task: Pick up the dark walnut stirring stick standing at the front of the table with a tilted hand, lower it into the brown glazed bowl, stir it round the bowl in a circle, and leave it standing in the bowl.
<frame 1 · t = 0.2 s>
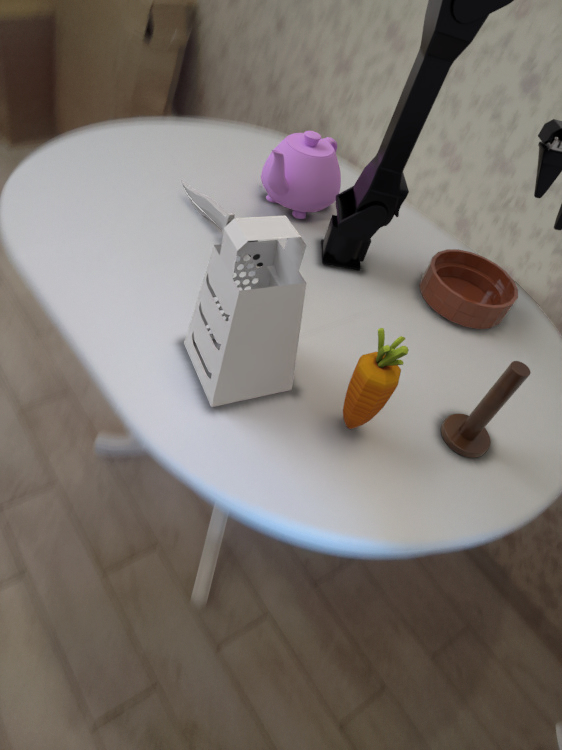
hand: (546, 212, 78), 15 cm above the table, tool pointing down, fingers open, 9 cm apart
bowl: (459, 301, 84), on the table
knife: (219, 234, 82), on the table
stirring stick: (463, 437, 64), on the table
carrot: (348, 428, 61), on the table
teapot: (292, 204, 93), on the table
grater: (237, 367, 64), on the table
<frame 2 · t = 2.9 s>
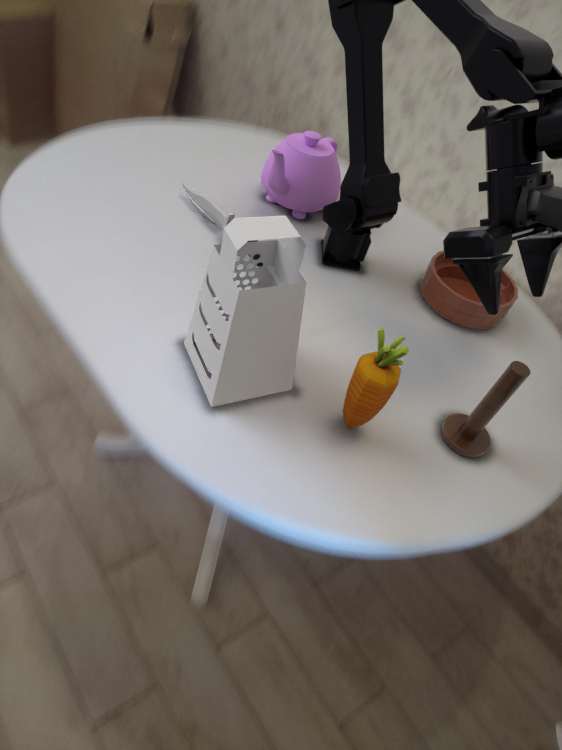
hand: (516, 305, 62), 13 cm above the table, tool tilted 35°, fingers open, 9 cm apart
nothing on the table moved.
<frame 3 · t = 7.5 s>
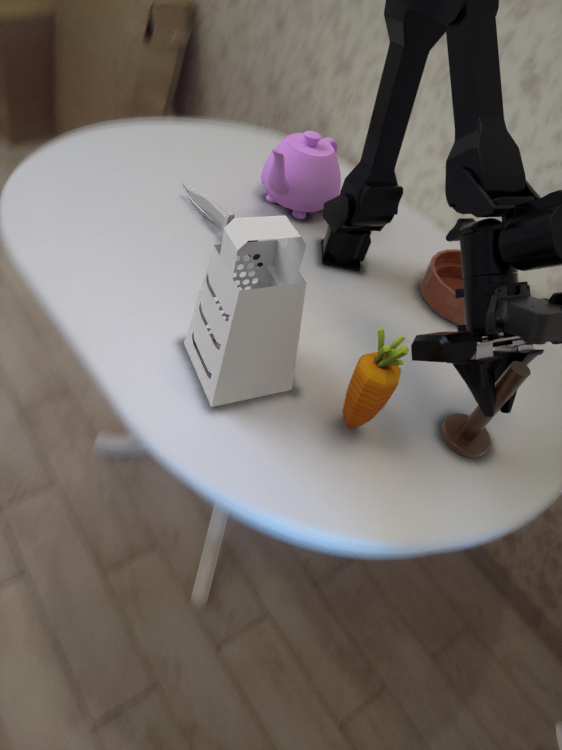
hand: (497, 414, 58), 7 cm above the table, tool tilted 45°, fingers closed on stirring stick, 2 cm apart
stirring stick: (463, 437, 64), on the table, touching gripper
everything else where it was.
when the fingers open (7 cm above the table, at t = 19.1 s): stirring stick stays where it is, resting on bowl.
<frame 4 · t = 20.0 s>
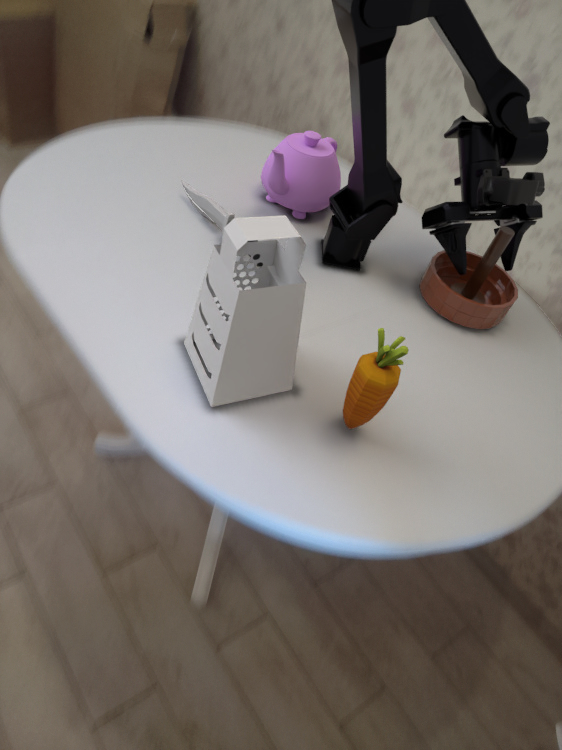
hand: (486, 272, 78), 7 cm above the table, tool tilted 45°, fingers open, 9 cm apart
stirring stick: (465, 299, 83), point 1 cm above the table, touching bowl
everything else where it was.
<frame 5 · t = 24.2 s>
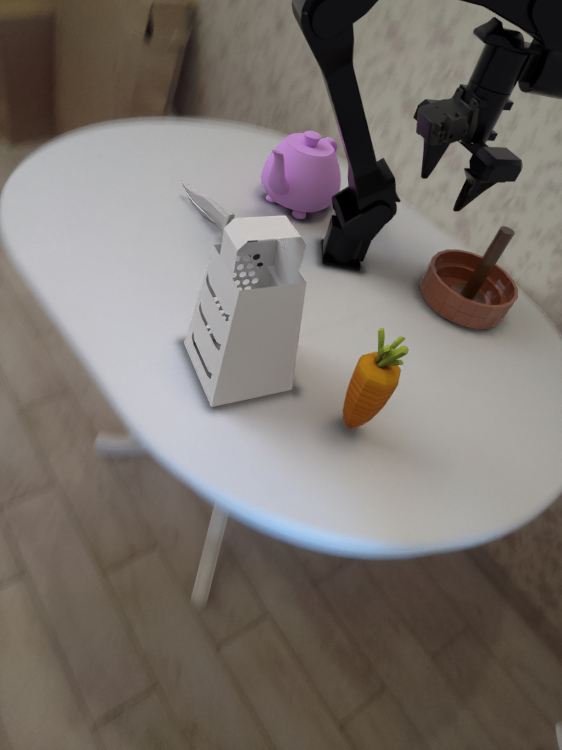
hand: (439, 194, 78), 13 cm above the table, tool pointing down, fingers open, 9 cm apart
nothing on the table moved.
at the end: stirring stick inside the target area in the bowl (0.6 cm from its centre), point 0.6 cm above the bowl's base; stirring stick tilted 0°; the gripper is holding nothing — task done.
